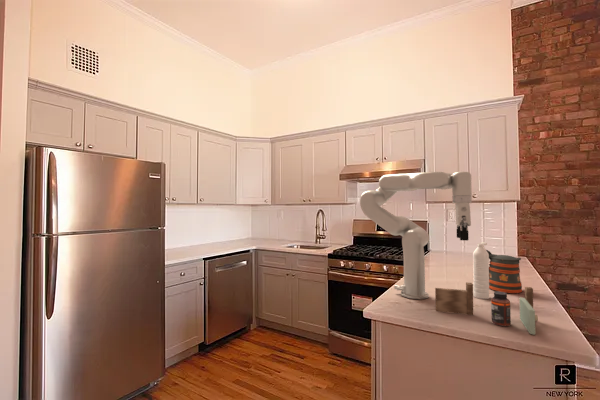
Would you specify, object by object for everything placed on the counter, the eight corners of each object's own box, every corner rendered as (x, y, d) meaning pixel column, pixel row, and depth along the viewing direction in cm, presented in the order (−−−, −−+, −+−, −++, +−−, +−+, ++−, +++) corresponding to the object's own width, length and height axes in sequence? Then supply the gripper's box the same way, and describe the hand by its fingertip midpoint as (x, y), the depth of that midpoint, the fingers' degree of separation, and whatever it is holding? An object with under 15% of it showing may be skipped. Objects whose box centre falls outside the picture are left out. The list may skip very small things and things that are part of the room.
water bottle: (486, 300, 141) (485, 244, 142) (471, 296, 146) (470, 243, 147) (493, 296, 147) (492, 243, 147) (478, 293, 152) (477, 241, 152)
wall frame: (436, 311, 127) (435, 282, 127) (435, 309, 130) (435, 280, 130) (534, 321, 116) (533, 288, 116) (531, 318, 119) (530, 286, 119)
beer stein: (477, 289, 158) (476, 250, 158) (479, 283, 170) (478, 246, 171) (523, 295, 148) (522, 253, 148) (521, 288, 160) (521, 249, 160)
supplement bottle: (510, 322, 115) (510, 291, 115) (511, 328, 110) (510, 296, 110) (491, 319, 118) (491, 289, 118) (491, 324, 113) (490, 293, 113)
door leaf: (539, 335, 103) (539, 310, 103) (529, 333, 104) (529, 309, 104) (528, 319, 117) (528, 298, 117) (519, 318, 118) (519, 297, 118)
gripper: (475, 199, 128) (475, 241, 128) (467, 200, 144) (468, 237, 144) (455, 200, 130) (455, 241, 130) (450, 200, 147) (450, 236, 147)
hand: (462, 239), depth 137 cm, fingers open, 9 cm apart
